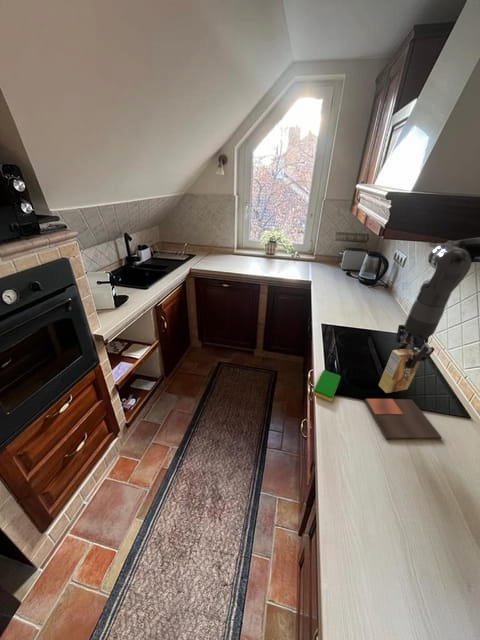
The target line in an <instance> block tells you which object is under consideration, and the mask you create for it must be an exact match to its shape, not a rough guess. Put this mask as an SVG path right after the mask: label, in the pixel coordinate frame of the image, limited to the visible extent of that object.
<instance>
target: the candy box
mask: <svg viewBox="0 0 480 640" xmlns="http://www.w3.org/2000/svg"><path fill="white" fill-rule="evenodd" d="M409 349H410V347H406V349H400V350H398V349H393V350H392V351H391V354H390V356H389V358H388V361H387V363H386V366H385V367H384V370H383V373H382V375H381V378H380V380H379V382H378V387H379V388H380V389H381V390H382V391H383V392H384V393H386V394H389V393H393V392H399V391H405V390H408V389H409V387H410V385H411V383H412V381H413V378H414V377H415V375H416V373H417V371H418V368H419V367H420V365H421V363H422V362H419V361H417V363H416V365H415V367H414V368H407V367H406V364H407V362H408V359H409V358H410V353H411V351H409ZM414 349H418V348H414ZM415 355H417V352H415Z"/></svg>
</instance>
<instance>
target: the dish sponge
mask: <svg viewBox="0 0 480 640" xmlns="http://www.w3.org/2000/svg"><path fill="white" fill-rule="evenodd" d="M341 377H342V376H341V375H340V374H336V373H333V372H331V371H329V370H326V369H324V370H322V372H321V374H320V377H319V379H318V380H317V382H316V385H315V386H314V389H313V391H312V394H313V396H316V397H318V398H321V399H323V400H325V401H328V402H333V399H334V397H335V394H336V392H337V388H338V387H339V384H340V382H341Z"/></svg>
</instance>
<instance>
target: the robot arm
mask: <svg viewBox="0 0 480 640" xmlns="http://www.w3.org/2000/svg"><path fill="white" fill-rule="evenodd" d="M427 262H428V264H429V266H430V267H431V268H433V269H434V270H435V271H434V273H433V275H432V277H431V278H430V279H427V280H425V281H424V282H423V283H422V284H421V286H420V287H419V290H418V294H417V296H416V299H415V300H414V301H413V303H412V305H411V308H410V311H409V313H408V315H407V318H406V319H405V322H404V324H399V325H398V327H397V333H396V337H395V342H396V343H398V344H397V345H398V348H397V350H400V349H406V348H410V349H409V351H411V353H410V358H409V359H408V362H407V364H406V367H407V368H414V367H415V365H416V363H417V361H419V362H421V363H422V362H426V360H427V359H428V358H429V357H430V356H431V355H432V354H433V353H434V351H435V348H434V347H433V346H430V345H429V338H430V337H431V336H432V335H434V334H435V332H436V330H437V329H438V325H439V324H440V321H441V319H442V317H443V315H444V312H445V310H446V306H447V304H448V302H449V300H450V298H451V296H452V293H453V292H454V291H455V289H457V287H459V285H460V284H461V283H462V281H463V280H464V279H465V278H466V276H467V275H468V273H469V272H470V271H471V268H472V265H473V264H475V263H476V264H480V237H471V238H465V239H464V238H463V239H459V240H452V241H448V242H444V243H442V244H440V245H439V244H438V246H436V247H434V248H433V249H432V250H431V251H430V253H429V254H428V257H427ZM414 348H417V349H414ZM415 352H417V355H415Z"/></svg>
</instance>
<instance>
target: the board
mask: <svg viewBox="0 0 480 640" xmlns="http://www.w3.org/2000/svg"><path fill="white" fill-rule="evenodd" d="M364 403H365V405H366V407H367V408H368V410H369V412H370V414H371V415H372V418H373V419H374V421H375V423H376V425H377V426H378V428H379V430H380V431H381V433H382V436H383V437H384V439H385V440H442V438H443V437H442V436H441V435H440V433H439V432H438V430H436V428H435V427H434V425H433V424H432V423H431V422H430V420H429V419H428V418H427V416H426V415H425V414H424V413H423V412H422V410H421V409H420V408H419V407H418V405H417V404H416V403H415V402H414V400H413V399H411V398H409V399H408V398H406V399H405V398H403V399H402V398H365V399H364Z"/></svg>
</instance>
